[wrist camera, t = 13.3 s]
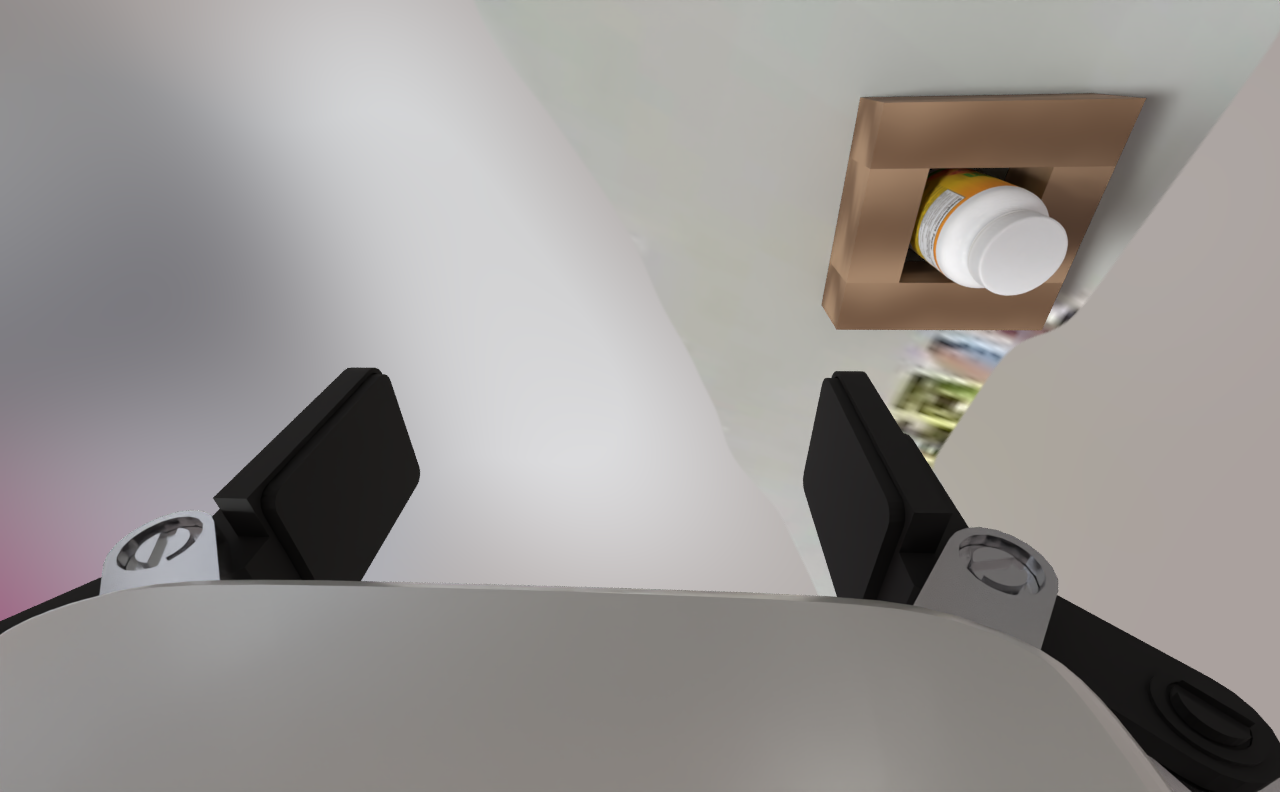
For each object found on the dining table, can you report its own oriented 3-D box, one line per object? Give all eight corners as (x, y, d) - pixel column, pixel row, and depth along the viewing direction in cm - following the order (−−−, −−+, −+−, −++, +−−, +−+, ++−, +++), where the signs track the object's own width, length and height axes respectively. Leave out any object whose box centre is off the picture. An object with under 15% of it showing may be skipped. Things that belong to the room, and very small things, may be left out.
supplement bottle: (1002, 185, 32) (1113, 228, 24) (943, 262, 35) (1025, 324, 27) (931, 149, 32) (1022, 181, 23) (876, 231, 34) (940, 285, 26)
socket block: (860, 97, 30) (884, 102, 27) (1092, 93, 30) (1146, 98, 26) (821, 305, 37) (836, 329, 34) (1007, 305, 37) (1041, 330, 33)
